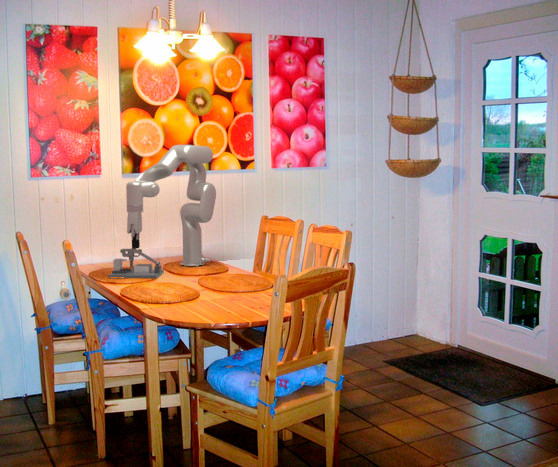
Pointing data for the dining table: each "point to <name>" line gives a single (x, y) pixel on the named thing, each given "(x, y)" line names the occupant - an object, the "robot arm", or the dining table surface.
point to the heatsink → (142, 268)
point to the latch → (118, 264)
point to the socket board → (130, 274)
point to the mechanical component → (130, 255)
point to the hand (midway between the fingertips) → (135, 248)
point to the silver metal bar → (146, 256)
